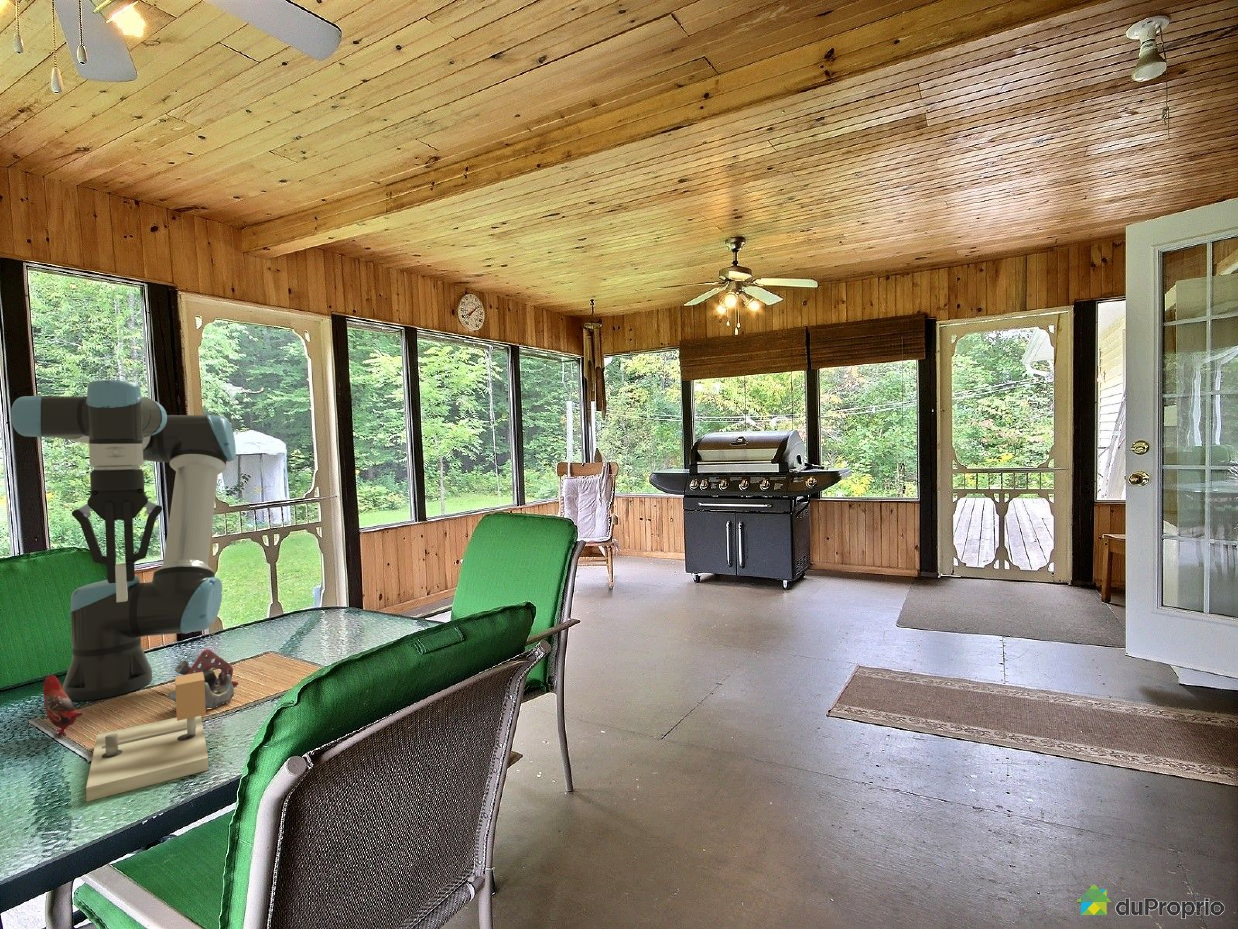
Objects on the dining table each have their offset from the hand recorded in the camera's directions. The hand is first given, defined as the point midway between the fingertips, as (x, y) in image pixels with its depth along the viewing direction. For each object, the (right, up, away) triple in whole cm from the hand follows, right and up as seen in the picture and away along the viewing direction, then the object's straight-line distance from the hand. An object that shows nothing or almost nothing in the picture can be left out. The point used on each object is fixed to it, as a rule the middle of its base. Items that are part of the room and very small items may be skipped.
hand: (122, 600), depth 114 cm
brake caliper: (+5, -24, +15) cm, 29 cm away
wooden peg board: (+11, -25, -8) cm, 28 cm away
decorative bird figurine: (-10, -25, 0) cm, 27 cm away
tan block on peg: (+15, -22, -5) cm, 27 cm away
